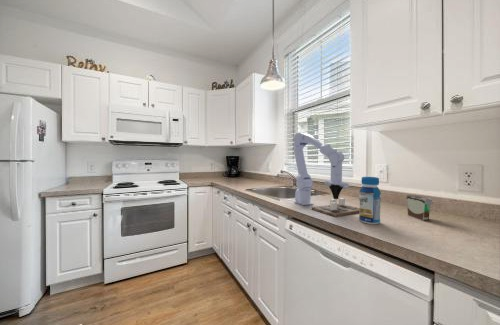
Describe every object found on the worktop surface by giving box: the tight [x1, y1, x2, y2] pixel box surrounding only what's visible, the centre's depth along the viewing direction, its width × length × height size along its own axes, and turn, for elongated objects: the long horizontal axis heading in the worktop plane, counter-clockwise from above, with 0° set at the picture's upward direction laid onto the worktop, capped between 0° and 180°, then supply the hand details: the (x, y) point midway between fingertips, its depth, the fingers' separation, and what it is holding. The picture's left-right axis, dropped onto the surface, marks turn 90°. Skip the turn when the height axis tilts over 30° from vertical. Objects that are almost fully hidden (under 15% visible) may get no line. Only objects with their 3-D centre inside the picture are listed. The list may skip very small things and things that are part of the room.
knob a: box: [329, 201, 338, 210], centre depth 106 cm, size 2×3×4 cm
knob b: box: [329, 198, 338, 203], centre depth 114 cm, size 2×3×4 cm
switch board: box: [311, 203, 360, 218], centre depth 111 cm, size 16×22×2 cm
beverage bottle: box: [358, 176, 382, 225], centre depth 92 cm, size 8×8×20 cm
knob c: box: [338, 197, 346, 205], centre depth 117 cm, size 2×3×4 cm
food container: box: [405, 194, 434, 222], centre depth 98 cm, size 12×6×10 cm, turn 179°
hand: (335, 198), depth 113 cm, fingers closed
